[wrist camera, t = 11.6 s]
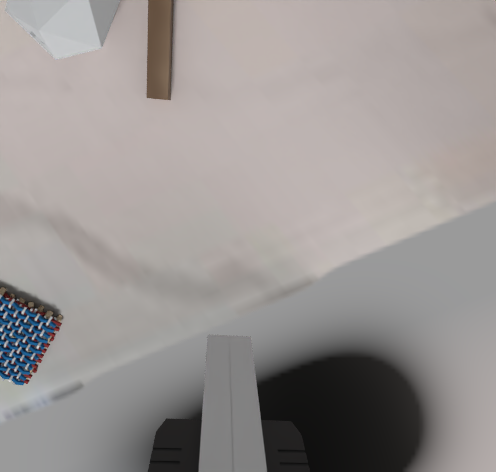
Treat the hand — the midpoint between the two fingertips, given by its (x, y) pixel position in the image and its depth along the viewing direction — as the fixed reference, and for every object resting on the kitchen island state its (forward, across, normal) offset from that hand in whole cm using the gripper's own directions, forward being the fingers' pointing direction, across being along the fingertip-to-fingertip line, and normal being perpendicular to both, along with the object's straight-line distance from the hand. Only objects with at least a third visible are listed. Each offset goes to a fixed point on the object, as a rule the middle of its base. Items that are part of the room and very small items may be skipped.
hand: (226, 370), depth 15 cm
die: (+33, -15, +16) cm, 39 cm away
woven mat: (+33, -24, -18) cm, 45 cm away
